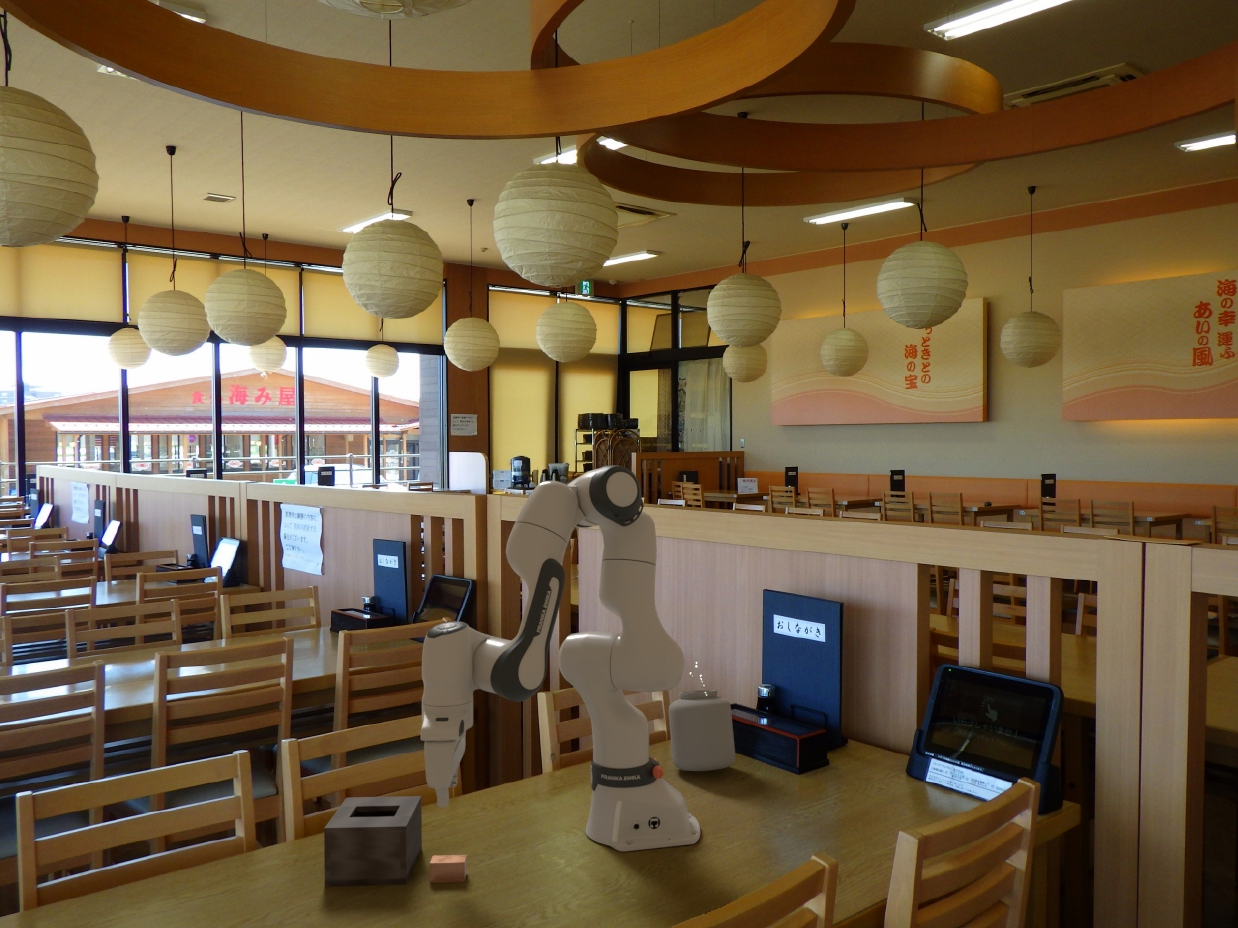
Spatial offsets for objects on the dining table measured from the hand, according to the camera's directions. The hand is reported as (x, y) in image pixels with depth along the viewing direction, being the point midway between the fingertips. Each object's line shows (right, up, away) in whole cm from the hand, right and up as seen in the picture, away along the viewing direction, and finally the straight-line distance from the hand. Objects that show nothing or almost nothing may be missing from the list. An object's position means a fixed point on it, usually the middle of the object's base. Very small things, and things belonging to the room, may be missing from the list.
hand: (447, 795), depth 155 cm
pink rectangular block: (0, -15, 0) cm, 15 cm away
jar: (+49, -14, +55) cm, 75 cm away
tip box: (-14, -15, +5) cm, 21 cm away
